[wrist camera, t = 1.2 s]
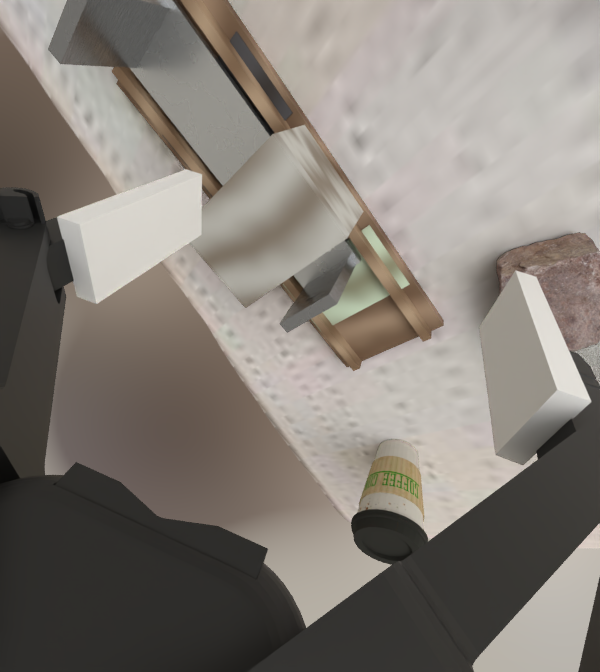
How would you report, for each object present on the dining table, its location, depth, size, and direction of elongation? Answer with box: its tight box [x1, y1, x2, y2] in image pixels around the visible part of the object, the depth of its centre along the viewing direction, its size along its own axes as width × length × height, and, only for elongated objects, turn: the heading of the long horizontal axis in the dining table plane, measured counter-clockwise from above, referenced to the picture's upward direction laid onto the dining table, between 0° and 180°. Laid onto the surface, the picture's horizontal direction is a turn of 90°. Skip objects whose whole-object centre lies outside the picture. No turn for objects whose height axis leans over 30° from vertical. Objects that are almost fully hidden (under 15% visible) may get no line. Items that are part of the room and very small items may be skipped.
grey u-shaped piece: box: [48, 0, 362, 332], centre depth 34 cm, size 30×8×10 cm, turn 40°
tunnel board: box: [112, 0, 444, 371], centre depth 37 cm, size 42×14×10 cm, turn 40°
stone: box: [497, 232, 600, 351], centre depth 36 cm, size 9×12×5 cm
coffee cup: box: [351, 439, 428, 565], centre depth 52 cm, size 10×10×15 cm
